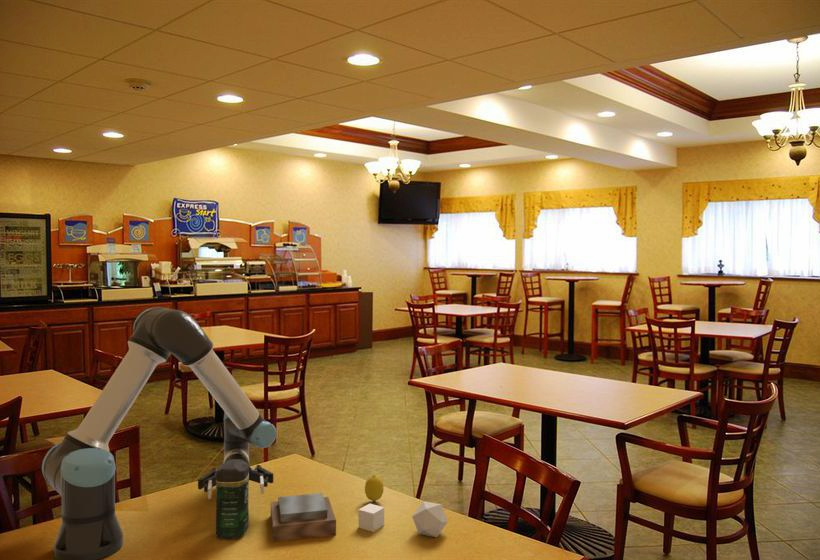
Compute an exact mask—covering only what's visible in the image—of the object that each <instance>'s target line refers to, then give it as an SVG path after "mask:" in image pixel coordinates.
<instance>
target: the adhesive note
mask: <svg viewBox="0 0 820 560" xmlns="http://www.w3.org/2000/svg"><path fill="white" fill-rule="evenodd" d="M384 526H385V506H380V505H376V504H373V503H368V504H366V505H364V506H362V507H361V508H359V509H358V528H360V529H363V530H364V531H365V530H366V531H369V532H373V533H375V532H376V531H377V530H379V529H380V528H382V527H384Z"/></svg>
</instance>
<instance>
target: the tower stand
mask: <svg viewBox="0 0 820 560" xmlns="http://www.w3.org/2000/svg"><path fill="white" fill-rule="evenodd" d="M270 521H271V522H270V523H271V534H272V540H273V543H274V542H283V541H285V542H286V541H292V540H300V539H301V540H304V539H313V538H321V537H322V538H323V537H329V536H331V537H332V536H336V535H337V518H336V515H335V513H334V509H333V506H332V504H331V501H330V498H329V496H324V495H323V492H319V493H318V492H317V493H309V494H297V495H286V496H284V495H283V496H278V501H271V502H270Z"/></svg>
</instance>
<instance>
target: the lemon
mask: <svg viewBox="0 0 820 560" xmlns="http://www.w3.org/2000/svg"><path fill="white" fill-rule="evenodd" d="M365 481H366V482H365V485H364V492H365V493H364V494H365V495H366V497H367V499H368V500H370V501H372V503H376V502H377V501H378V500H380V499H381V498H382V496H383V494H384V489H385V488H384V484H383V483H384V482H383V480H382V479H381V478H380V477H379V476H377V475H375V474H373V475H372V476H370V477H369V478H368V479H367V480H365Z"/></svg>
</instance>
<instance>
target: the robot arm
mask: <svg viewBox="0 0 820 560" xmlns="http://www.w3.org/2000/svg"><path fill="white" fill-rule="evenodd" d="M132 330H133V331H132V332H133V333H132V335H130V338H129V339H128V341H127V345H128V351H127V353H126V354H125V355H124V357H123V359H122V360H121V361H120V363H119V365H118V366H117V368H116V370H115V371H114V373H112V376H111V377H110V379H109V380H108V381H107V383H106V385H105V386H104V387H103V389H102V391H101V392H100V393H99V395H98V397H97V398H96V400H95V402H94V403H93V405H92V406H91V408H90V409H89V411H88V412H87V414H86V415H85V417H84V419H83V420H82V422H81V423H80V424H79V426H78V427H77V428H76V429H73V430H70V431H68V432H67V434H65V436H64V438H63V439H62V441H61V442H60V443H58V444H56V445H54V446H52V447H51V448H50V449H49V450H48V451H47V453H46V454H45V456H44V458H43V459H42V464H41V472H42V475H43V477H44V480H45V482H46V483H47V485H48V486H49V487H50V488H52V489H53V490H54V491H56V493H58V494H59V495H60V496H61V524H60V527H59V530H58V533H57V536H56V539H55V542H54V546H53V557H54V558H56V559H55V560H101V559H103V558H106V557H108V556H111V555H112V554H115V553H116V552H118V551H119V550H120V549H121V548H122V547H123V544H124V533H123V530H122V528H121V525H120V522H119V520H118V517H117V514H116V470H117V469H116V463H115V458H114V455H113V454H112V452H110V448H109V442H110V440H111V439H112V437H113V436H114V434H115V433H116V432H117V429H118V428H119V426H120V424H121V423H122V421H123V420H124V418H125V417H126V415H127V414H128V412H129V410H130V409H131V407H132V405H133V404H134V403H135V401H136V400H137V398H138V396H139V394H140V393H141V391H142V390H143V389H144V387H145V385H146V384H147V382H148V381H149V379H150V377H151V376H152V374H153V372H154V371H155V369H156V367H157V366H158V365H159V364H163V363H166V362H167V361H168V359H169V357H170V356H171V355H173V356H174V357H175V358H176V359H178V361H180V363H181V364H182V365H183V366H184V367H189V368H190V369H191V371H192V372H193V374H194V375H195V376H196V377H197V378H198V380H199V381H200V382H201V383H202V385H203V386H204V387H205V389H207V391H208V392H209V393H210V395H211V396H212V397H213V399H214V400H215V401H216V403H218V405H219V407H220V408H221V409H222V410H223V411H224V413H223V414H224V415H223V433H224V435H223V436H224V437H223V438H224V439H223V463H225V462H227V461H228V460H229V459H243V460H244V461H246V462H247V463H248V464H249V481H251V482H254V483H258V484H259V486H260V487H259V488H260V494H261V495H264V493H265V488H267V487H268V486H269V485H268V483H269V484H273V483H274V473H273V472H271V471H270V470H267V469H265V468H264V467H262V465H260V464H257V465H256V466H255V467H253V468H252V467H251V465H250V445H252V446H253V447H256V448H259V449H260V448H261V449H264V448H265V449H266V448H268V447H270V446H271V445H272V444H273V443H274V442H275V440H276V438H277V429H276V427H275V425H274V424H272V423H271V422H270V421H267V420H266V419H265V418H264V417H263V415H261V413H260V412H259V411H258V409H257V408H256V407H255V406H254V403H253V402H252V401H251V400H250V399H249V397H248V396H247V394H246V393H245V392H244V390H243V389H242V388H241V386H240V385H239V384H238V382H237V380H236V379H235V378H234V376H233V375H232V374H231V372H230V371H229V370H228V368H227V367H226V366H225V364H224V363H223V362H222V360H221V359H220V358H219V356H218V355H217V354H216V353H215V351H214V347H215V346H214V344H213V342H212V340H211V339H210V337H209V336H208V335H207V333H206V332H205V331H204V329H203V328H202V327H201V326H200V324H199V323H198V322H197V320H196V319H194V317H193V316H192V315H190V314H189V313H187V311H186V312H185V311H183V310H179V309H173V308H172V309H171V308H169V307H164V306H163V307H162V306H161V307H160V306H158V307H156V306H155V307H151V308H148V309H145V310H144V311H143V312H141V313H140V314H139V315H137V317H136V318H135V320H134V323H133V326H132ZM216 471H217V468H215V467H214V468H212V469H210V471H209V472H208V473H206V474H204V475H202V476H201V477H200V478H199V479H197V489H198V490H202V489H203V492H204V493H207V499H208V500H210V499H212V491H213V488H214V487H216Z"/></svg>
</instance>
